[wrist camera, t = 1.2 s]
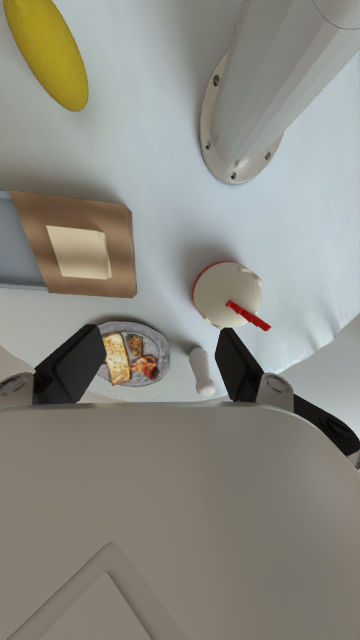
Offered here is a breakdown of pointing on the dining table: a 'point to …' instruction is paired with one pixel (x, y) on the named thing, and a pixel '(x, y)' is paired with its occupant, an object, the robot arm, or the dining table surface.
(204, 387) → the salt shaker
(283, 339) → the dining table surface
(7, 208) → the box
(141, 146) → the dining table surface
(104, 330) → the food plate
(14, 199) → the wooden square board
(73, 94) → the lemon
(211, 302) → the kitchen timer
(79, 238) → the tile
